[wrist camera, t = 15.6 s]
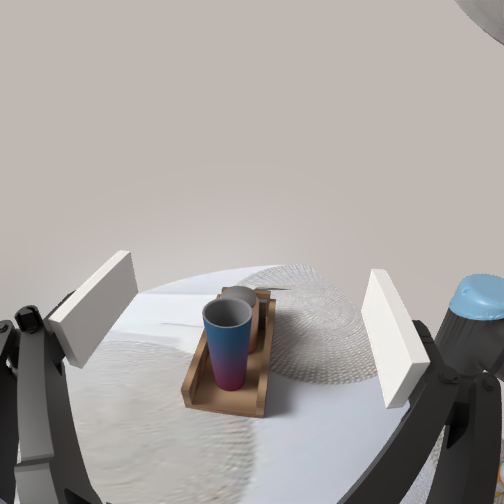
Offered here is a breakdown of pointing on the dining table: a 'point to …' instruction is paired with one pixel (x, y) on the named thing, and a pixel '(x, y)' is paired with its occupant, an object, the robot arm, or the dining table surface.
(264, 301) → the pusher
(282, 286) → the spoon
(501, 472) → the supplement bottle
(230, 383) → the cup
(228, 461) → the dining table surface
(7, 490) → the robot arm
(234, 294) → the jar
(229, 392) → the wooden tray
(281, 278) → the dining table surface
